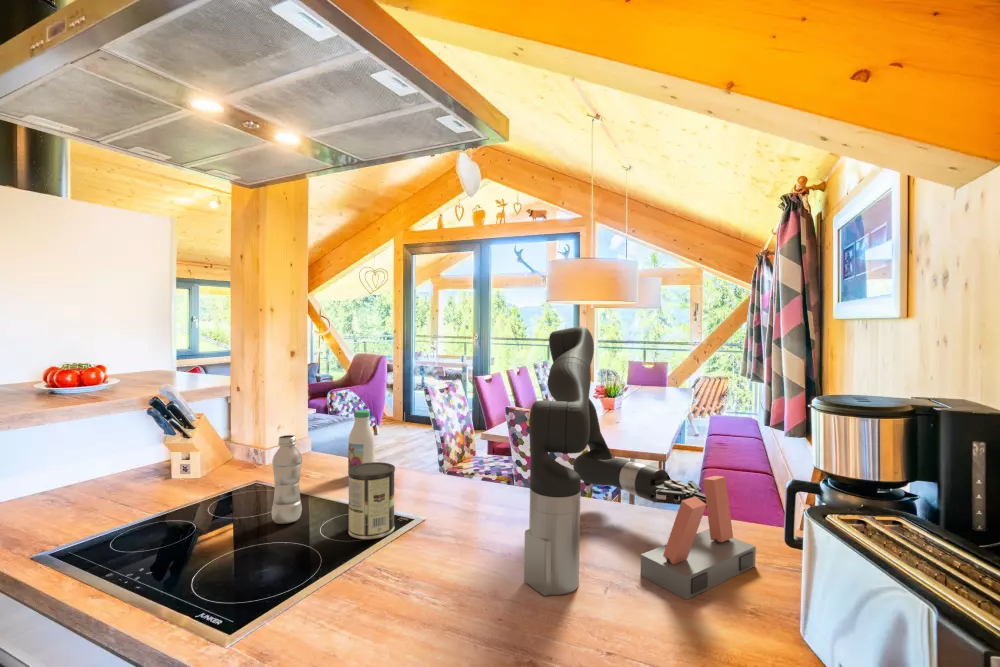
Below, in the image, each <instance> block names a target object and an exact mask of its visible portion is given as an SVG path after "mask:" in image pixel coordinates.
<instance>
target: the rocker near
mask: <svg viewBox="0 0 1000 667" xmlns="http://www.w3.org/2000/svg"><path fill="white" fill-rule="evenodd" d="M706 505H707V504H705V503H704V502H703V501H701V500H700V499H698V498H697V497H692V498H689V499H685V500H682V501H681V504H680V505H679V507H678V510H677V514H676V516H675V520H674V522H673V526H672V528H671V531H670V534H669V536H668V540H667V543H666V545H667V546H666V548H665V551H664V554H663V556H664V557H665V558H666V561H667V562H668V563H670V562H671V563H672V564H673V565H674V564H677V563H679V562H682V561H684V560H686V559H687V558H688V555H689V552H690V550H691V547H692V544H693V541H694V538H695V536H696V534H697V532H698V530H699V526H700V524H701V521H702V518H703V516H704V513H705V511H706V510H705V509H706V508H705V507H706Z"/></svg>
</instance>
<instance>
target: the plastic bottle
mask: <svg viewBox="0 0 1000 667" xmlns="http://www.w3.org/2000/svg"><path fill="white" fill-rule="evenodd" d="M296 438H297V437H296V435H294V434H293V435H292V434H287V435H285V434H284V435H281V436H279V437H278V444H277V445H278V446H279V447H278V449H277V450H276V452H275V453H274V455H273V457H272V461H271V462H272V464H271V465H272V470H273V477H274V493H273V494H274V495H273V503H272V507H271V518H272V519H271V520H273V522H274V523H275V524H277V525H278V524H281V525H283V524H284V525H285V524H291V523H294V522H296V521H298V520H299V519H300V517H301V515H302V510H303V506H302V500H301V493H300V479H301V478H300V477H301V470H302V462H303V457H302V453H301V452H300V450H299V449H298V448H297V447H296V444H297V441H296V440H297V439H296Z"/></svg>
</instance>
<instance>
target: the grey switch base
mask: <svg viewBox="0 0 1000 667" xmlns="http://www.w3.org/2000/svg"><path fill="white" fill-rule="evenodd" d="M666 546H667V544H665V545H662V546H659V547H656V548H654V549H652V550H649V551H646V552H644V553H640V576H642V577H643V578H645V580H649V581H650V582H652V583H654V584H656V585H658V586H660V587H662V588H663V589H665V590H667V591H668V592H671V593H673V594H674V595H676V596H678V597H680V598H682V599H684V600H686V601H687V600H689V599H691V598H693V597H695V596H697V595H699V594H701V593H703V592H706V591H708V590H710V589H712V588H714V587H715V586H718V585H720V584H721V583H724V582H726V581H728V580H730V579H732V578H734V577H736V576H738V575H741V574H743V573H744V571H745V572H747V571H749V570H750V568H751V569H753V568H754V566H755V567H756V552H757V551H756V550H757V548H756V547H757V546H756V545H754V544H751V543H749V542H746V541H743V540H740V539H737V538H735V537H733V538H731V539H728V540H726V541H724V542H719V543H715V542H714V540H711V537H710V529H709V528H708V529H705V530H702V531H700V532H698V533H696V536H695V538H694V541H693V544H692V547H691V550H690V552H689V555H688V558H687V559H686V560H684V561H682V562H679V563H677V564H674V565H673V564H672V563H671V562H670V563H668V562H667V561H666V558H665V557H664V556H663V554H664V551H665V548H666ZM752 567H753V568H752ZM748 569H749V570H748ZM746 570H747V571H746ZM742 572H743V573H742Z"/></svg>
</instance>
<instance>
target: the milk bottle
mask: <svg viewBox="0 0 1000 667" xmlns="http://www.w3.org/2000/svg"><path fill="white" fill-rule="evenodd" d="M370 415H371V413H370V410H367V409H358V410H355V411H354V412H353V419H354V423H353V425H352V426H353V427H352V429H351V430H350V433H349V436H348V449H347V450H348V452H347V453H348V458H347V459H348V462H347V469H349V468H351V467H353V466H355V465H358V464H363V463H371V462H375V461H376V460H375V459H376V455H375V454H376V453H375V452H376V444H375V440H376V439H375V434H374V431H373V428H372V427H371V423H370V418H371V417H370ZM347 476H348V477H349V474H348V473H347Z"/></svg>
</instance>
